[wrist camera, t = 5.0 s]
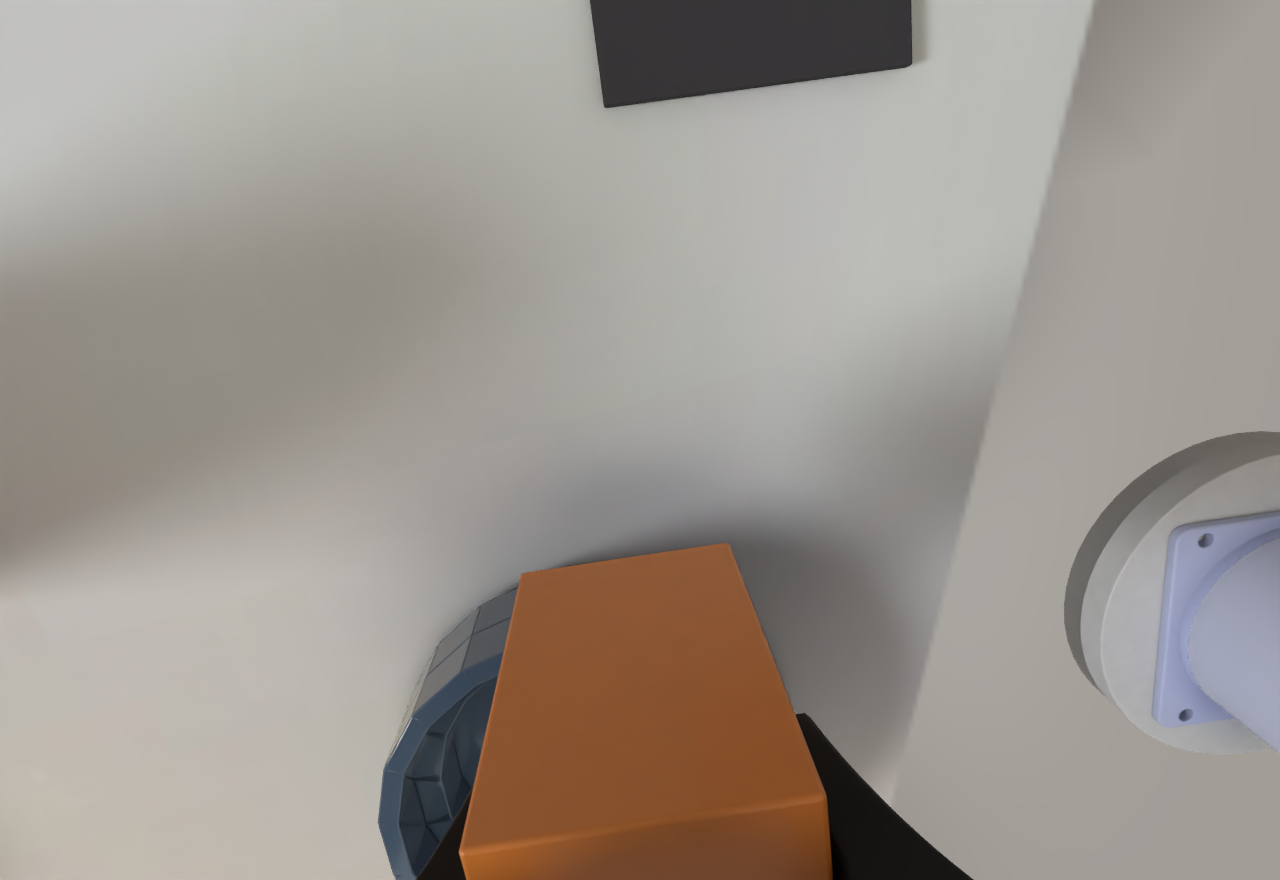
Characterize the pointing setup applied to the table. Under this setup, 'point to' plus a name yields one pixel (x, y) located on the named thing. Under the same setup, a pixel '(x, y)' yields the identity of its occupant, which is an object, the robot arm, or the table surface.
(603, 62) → the dark grey flat board
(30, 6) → the table surface
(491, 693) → the bowl
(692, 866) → the orange rectangular block
